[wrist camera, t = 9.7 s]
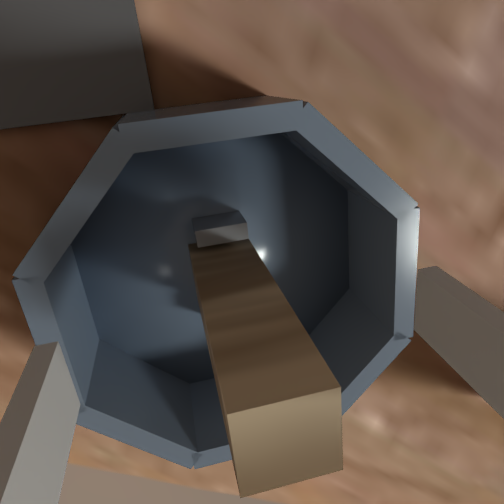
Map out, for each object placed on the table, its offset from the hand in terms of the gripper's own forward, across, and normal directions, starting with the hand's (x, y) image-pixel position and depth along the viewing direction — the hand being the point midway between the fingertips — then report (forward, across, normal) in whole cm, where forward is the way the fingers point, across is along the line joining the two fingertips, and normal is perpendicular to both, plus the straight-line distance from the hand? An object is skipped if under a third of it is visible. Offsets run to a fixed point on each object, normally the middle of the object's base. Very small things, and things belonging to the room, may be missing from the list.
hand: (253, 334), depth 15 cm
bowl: (+8, 0, 0) cm, 8 cm away
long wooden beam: (+7, 0, 0) cm, 7 cm away
